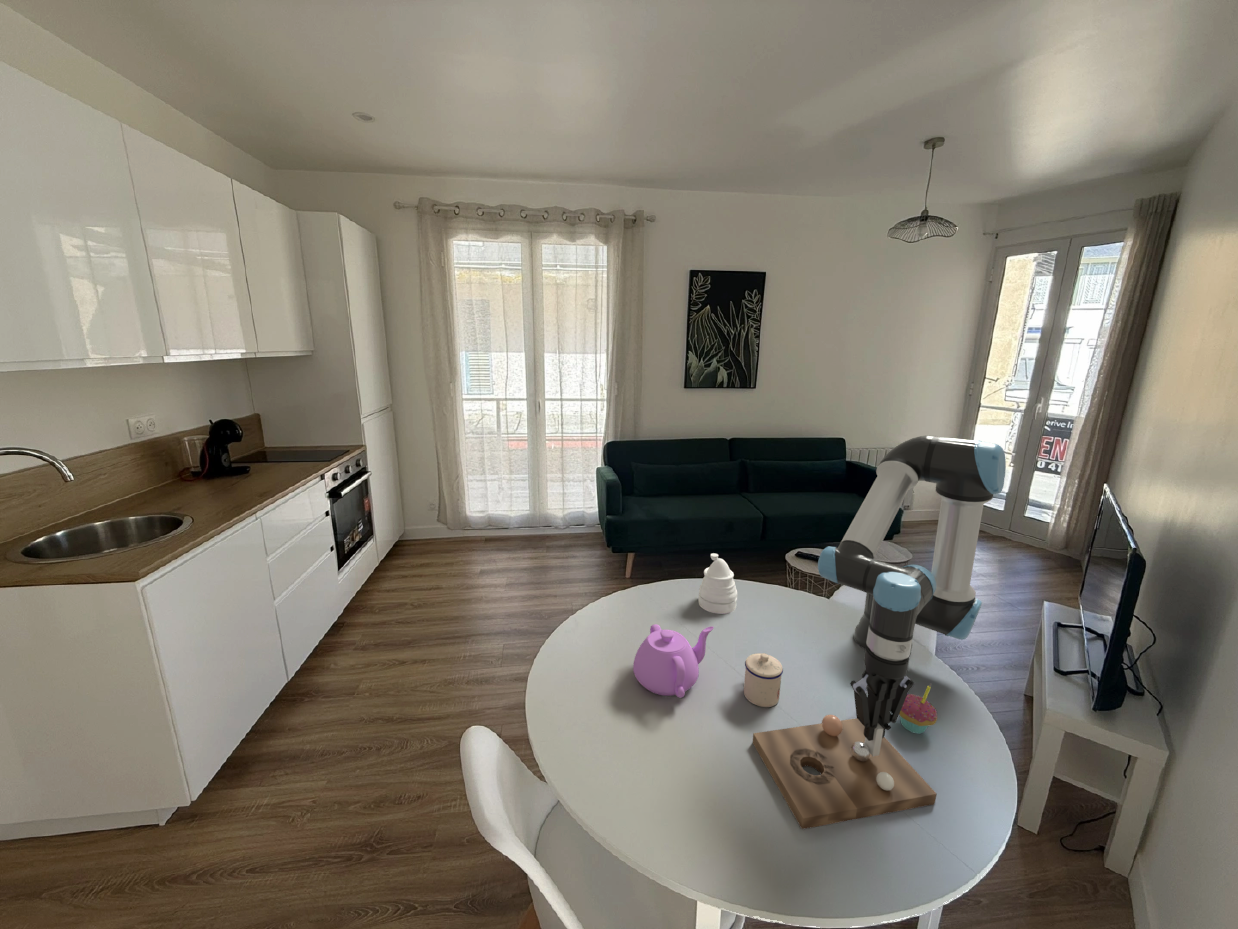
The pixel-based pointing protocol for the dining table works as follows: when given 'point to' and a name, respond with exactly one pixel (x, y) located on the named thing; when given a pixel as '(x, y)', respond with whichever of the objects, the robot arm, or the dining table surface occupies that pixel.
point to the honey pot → (718, 588)
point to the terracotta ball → (832, 725)
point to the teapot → (669, 661)
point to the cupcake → (917, 713)
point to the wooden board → (838, 775)
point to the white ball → (885, 781)
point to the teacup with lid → (762, 679)
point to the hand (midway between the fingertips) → (871, 750)
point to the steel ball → (860, 751)
